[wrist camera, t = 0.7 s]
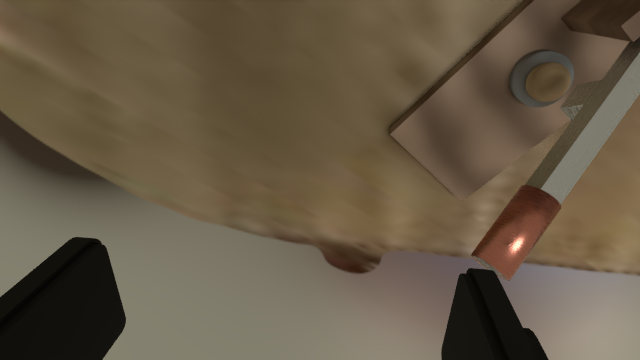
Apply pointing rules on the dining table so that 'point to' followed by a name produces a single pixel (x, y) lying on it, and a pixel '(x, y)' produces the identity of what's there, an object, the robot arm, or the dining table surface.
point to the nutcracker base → (483, 100)
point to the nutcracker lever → (561, 164)
